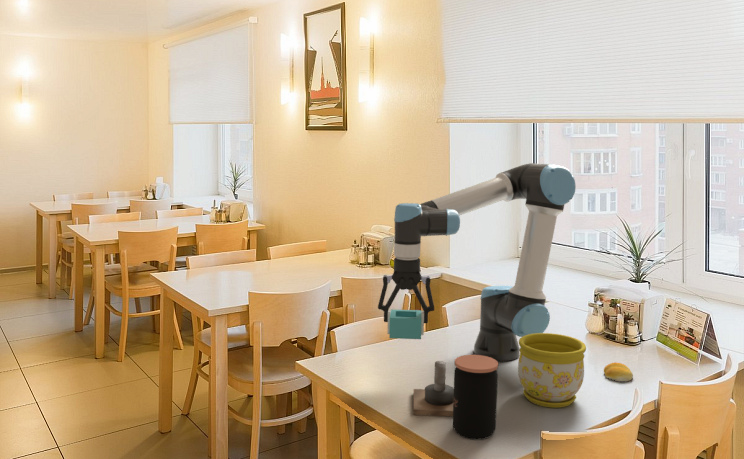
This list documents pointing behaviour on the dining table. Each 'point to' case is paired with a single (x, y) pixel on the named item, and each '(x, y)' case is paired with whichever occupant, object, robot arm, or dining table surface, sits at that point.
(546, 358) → the flowerpot
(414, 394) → the post stand
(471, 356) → the coffee jar
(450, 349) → the dining table surface
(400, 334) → the collar
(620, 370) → the bread roll
